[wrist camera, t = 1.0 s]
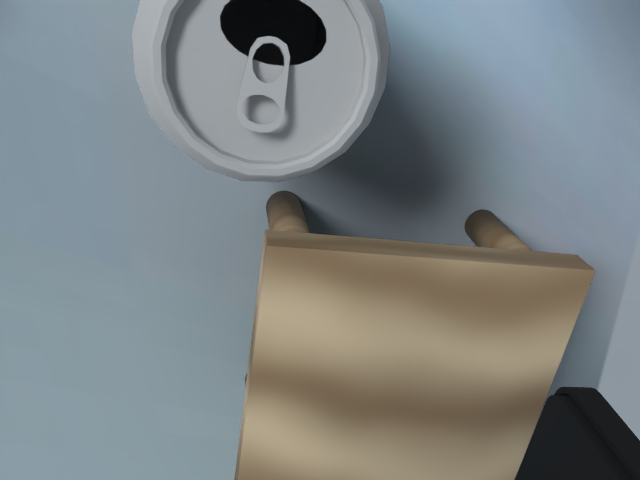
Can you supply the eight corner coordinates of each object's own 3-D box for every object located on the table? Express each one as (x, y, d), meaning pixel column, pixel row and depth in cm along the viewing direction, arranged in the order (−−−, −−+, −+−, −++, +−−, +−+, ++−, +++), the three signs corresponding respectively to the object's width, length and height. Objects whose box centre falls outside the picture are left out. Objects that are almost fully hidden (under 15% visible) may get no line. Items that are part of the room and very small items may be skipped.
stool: (257, 177, 29) (267, 245, 22) (513, 202, 32) (595, 270, 25) (232, 398, 35) (234, 510, 28) (451, 403, 37) (504, 507, 30)
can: (352, -41, 26) (441, -46, 15) (313, 124, 28) (365, 220, 18) (178, -88, 24) (138, -132, 13) (156, 92, 27) (108, 178, 16)
